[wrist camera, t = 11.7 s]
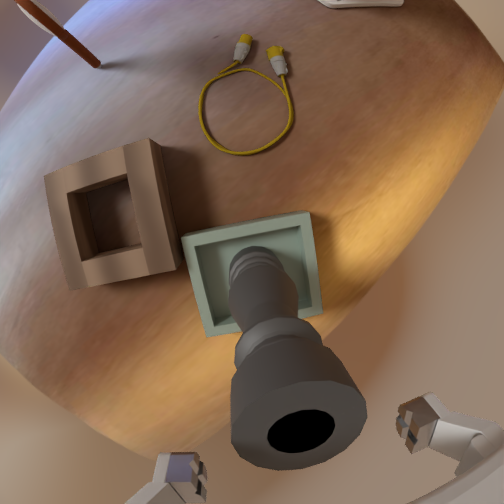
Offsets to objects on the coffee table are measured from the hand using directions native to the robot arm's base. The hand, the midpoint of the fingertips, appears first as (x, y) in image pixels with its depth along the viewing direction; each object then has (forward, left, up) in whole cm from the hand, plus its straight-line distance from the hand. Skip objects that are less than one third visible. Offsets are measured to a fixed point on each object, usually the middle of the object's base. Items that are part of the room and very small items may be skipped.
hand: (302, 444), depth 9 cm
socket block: (+15, -10, -27) cm, 32 cm away
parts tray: (0, 0, -27) cm, 27 cm away
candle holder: (0, 0, -26) cm, 26 cm away
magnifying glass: (+15, -31, -27) cm, 44 cm away
